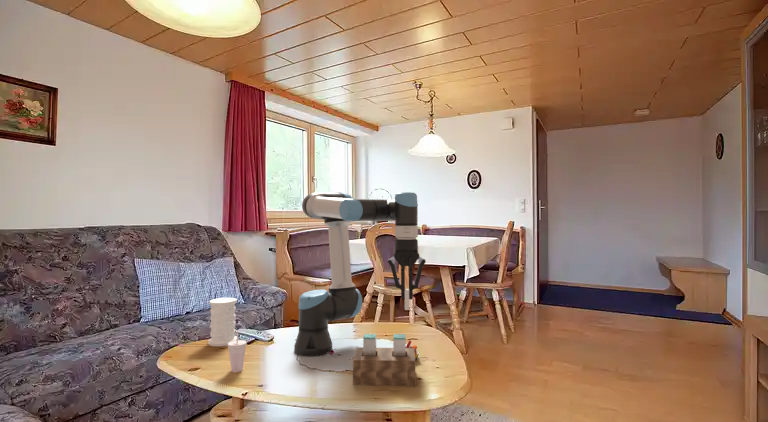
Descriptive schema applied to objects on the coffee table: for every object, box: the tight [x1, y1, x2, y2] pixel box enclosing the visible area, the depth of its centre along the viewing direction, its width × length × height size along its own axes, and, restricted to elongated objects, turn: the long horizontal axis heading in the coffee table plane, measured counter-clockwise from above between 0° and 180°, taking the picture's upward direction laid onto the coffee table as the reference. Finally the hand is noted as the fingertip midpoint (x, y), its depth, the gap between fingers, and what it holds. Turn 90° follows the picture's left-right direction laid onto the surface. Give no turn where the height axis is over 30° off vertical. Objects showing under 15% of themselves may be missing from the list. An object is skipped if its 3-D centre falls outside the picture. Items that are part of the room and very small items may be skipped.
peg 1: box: [362, 333, 377, 356], centre depth 132 cm, size 4×4×8 cm
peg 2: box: [392, 333, 407, 357], centre depth 131 cm, size 4×4×8 cm
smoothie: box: [227, 330, 248, 373], centre depth 138 cm, size 6×6×14 cm
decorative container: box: [208, 297, 237, 347], centre depth 169 cm, size 12×12×18 cm
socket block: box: [352, 347, 416, 387], centre depth 131 cm, size 20×12×8 cm, turn 88°
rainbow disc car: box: [406, 340, 419, 359], centre depth 149 cm, size 8×10×7 cm
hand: (406, 309), depth 131 cm, fingers closed
